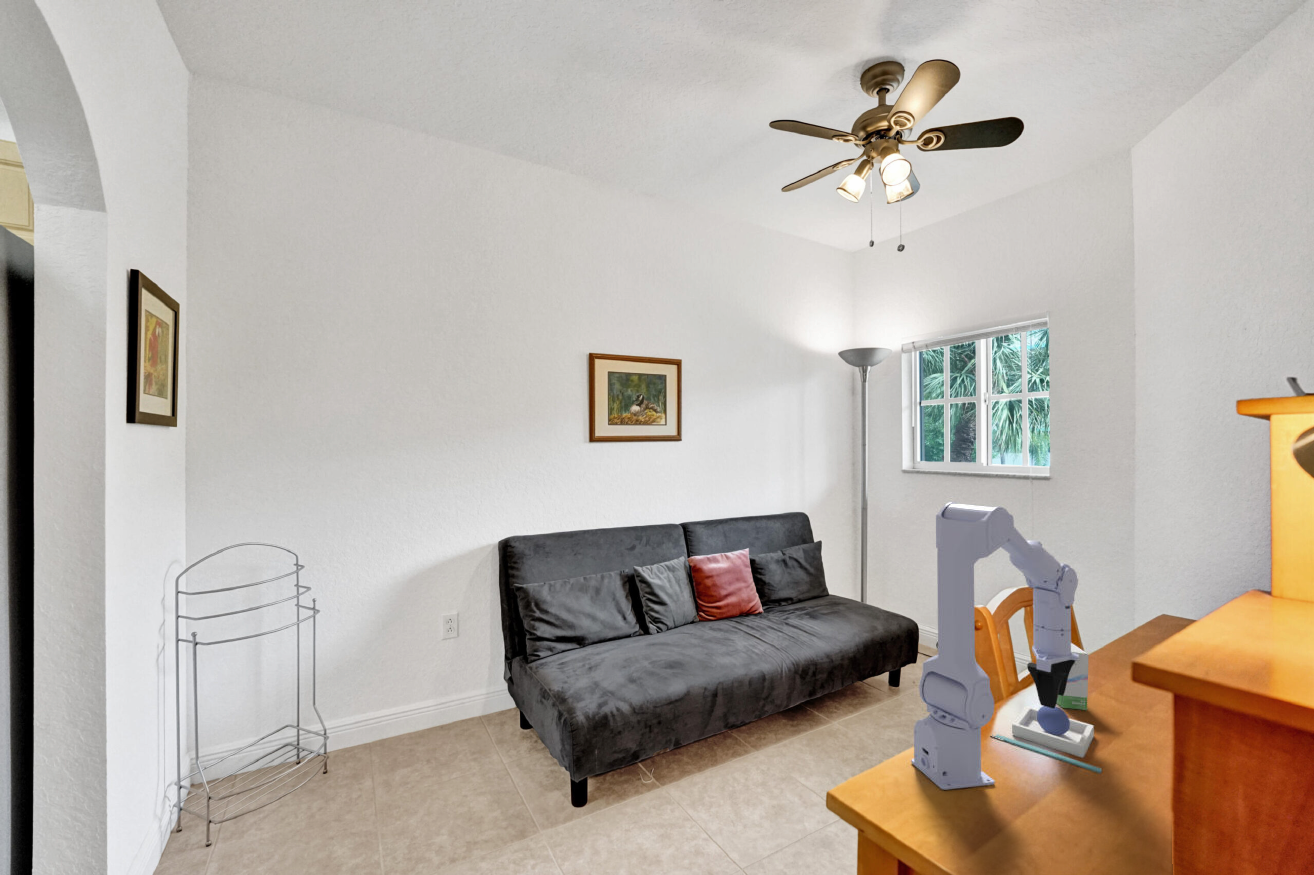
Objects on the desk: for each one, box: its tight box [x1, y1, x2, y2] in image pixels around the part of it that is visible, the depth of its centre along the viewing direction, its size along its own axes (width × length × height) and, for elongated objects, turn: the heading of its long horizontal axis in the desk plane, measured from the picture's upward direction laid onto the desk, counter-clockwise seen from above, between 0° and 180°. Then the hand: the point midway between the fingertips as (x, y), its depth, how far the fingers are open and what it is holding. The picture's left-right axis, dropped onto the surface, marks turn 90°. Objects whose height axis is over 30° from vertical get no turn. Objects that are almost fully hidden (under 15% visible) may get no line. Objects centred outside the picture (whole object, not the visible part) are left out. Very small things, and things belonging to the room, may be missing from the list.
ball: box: [1037, 705, 1070, 735], centre depth 102 cm, size 5×5×5 cm
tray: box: [1011, 705, 1095, 759], centre depth 102 cm, size 11×11×2 cm
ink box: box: [1056, 642, 1089, 711], centre depth 117 cm, size 9×5×12 cm, turn 168°
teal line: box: [992, 734, 1102, 774], centre depth 96 cm, size 16×1×1 cm, turn 44°
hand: (1052, 699), depth 102 cm, fingers open, 7 cm apart
